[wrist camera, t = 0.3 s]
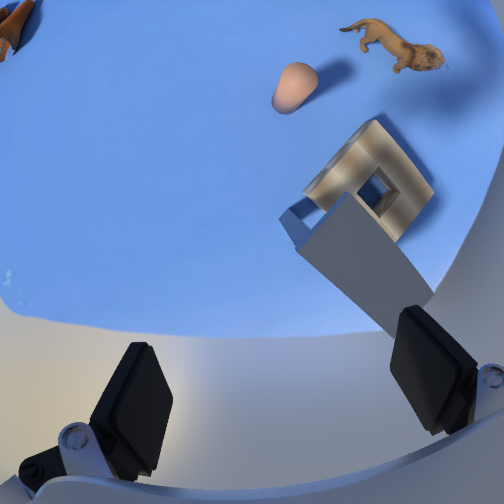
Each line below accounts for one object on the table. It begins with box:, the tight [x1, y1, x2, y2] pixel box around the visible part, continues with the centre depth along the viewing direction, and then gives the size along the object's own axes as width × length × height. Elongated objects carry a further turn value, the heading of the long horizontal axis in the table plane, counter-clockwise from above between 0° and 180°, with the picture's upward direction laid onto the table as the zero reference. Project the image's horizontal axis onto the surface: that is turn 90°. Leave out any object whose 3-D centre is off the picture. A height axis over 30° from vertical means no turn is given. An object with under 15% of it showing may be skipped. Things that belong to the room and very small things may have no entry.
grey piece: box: [279, 192, 434, 338], centre depth 31 cm, size 6×15×16 cm, turn 50°
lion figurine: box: [339, 19, 445, 73], centre depth 25 cm, size 15×5×9 cm, turn 72°
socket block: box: [303, 119, 434, 242], centre depth 34 cm, size 14×14×4 cm
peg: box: [272, 62, 318, 114], centre depth 27 cm, size 4×4×11 cm
